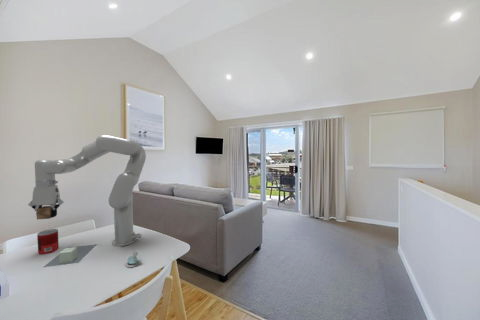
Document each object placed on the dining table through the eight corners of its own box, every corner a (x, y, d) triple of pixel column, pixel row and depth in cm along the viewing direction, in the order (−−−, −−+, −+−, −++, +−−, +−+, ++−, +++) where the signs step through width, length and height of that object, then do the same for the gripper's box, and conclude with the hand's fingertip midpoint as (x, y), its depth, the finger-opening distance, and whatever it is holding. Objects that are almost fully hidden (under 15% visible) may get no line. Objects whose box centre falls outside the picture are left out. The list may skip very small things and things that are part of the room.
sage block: (77, 256, 100) (76, 247, 100) (71, 262, 95) (71, 251, 95) (65, 258, 99) (65, 248, 99) (59, 263, 94) (58, 253, 94)
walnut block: (56, 215, 109) (56, 205, 109) (49, 218, 104) (49, 208, 104) (44, 216, 108) (43, 206, 108) (36, 219, 103) (36, 208, 103)
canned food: (62, 248, 110) (61, 228, 110) (47, 255, 102) (46, 234, 102) (50, 247, 111) (49, 228, 111) (34, 255, 103) (33, 234, 103)
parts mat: (97, 244, 114) (97, 244, 114) (78, 263, 95) (78, 262, 95) (68, 247, 111) (68, 247, 111) (42, 268, 91) (42, 267, 91)
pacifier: (130, 270, 89) (143, 263, 94) (129, 256, 89) (142, 250, 94) (122, 265, 93) (135, 259, 98) (121, 252, 93) (134, 246, 98)
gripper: (68, 181, 111) (70, 213, 112) (31, 183, 107) (32, 216, 108) (60, 183, 104) (61, 218, 105) (19, 185, 100) (21, 221, 100)
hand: (46, 216), depth 106 cm, fingers closed on walnut block, 5 cm apart
